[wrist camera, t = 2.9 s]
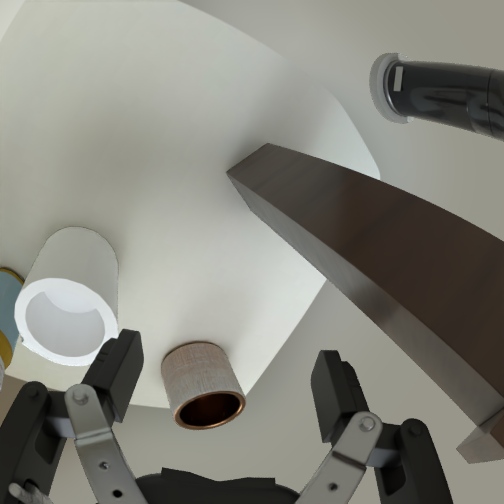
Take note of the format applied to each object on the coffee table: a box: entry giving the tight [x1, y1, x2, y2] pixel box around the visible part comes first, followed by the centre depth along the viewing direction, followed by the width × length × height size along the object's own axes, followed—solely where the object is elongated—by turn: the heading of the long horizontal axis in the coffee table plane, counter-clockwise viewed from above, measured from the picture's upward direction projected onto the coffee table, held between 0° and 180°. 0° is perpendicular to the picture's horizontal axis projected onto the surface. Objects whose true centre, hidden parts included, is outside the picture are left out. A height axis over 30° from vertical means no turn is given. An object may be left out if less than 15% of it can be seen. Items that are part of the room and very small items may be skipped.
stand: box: [226, 143, 504, 464], centre depth 20 cm, size 8×9×33 cm
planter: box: [161, 343, 246, 430], centre depth 39 cm, size 11×11×10 cm
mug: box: [14, 227, 118, 366], centre depth 25 cm, size 14×10×11 cm
